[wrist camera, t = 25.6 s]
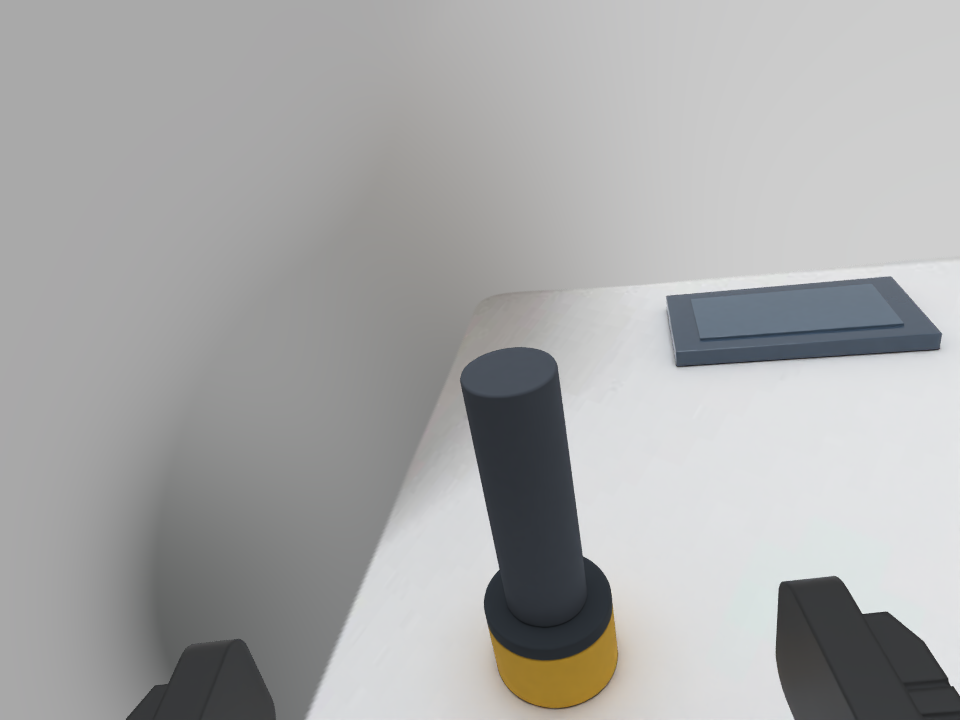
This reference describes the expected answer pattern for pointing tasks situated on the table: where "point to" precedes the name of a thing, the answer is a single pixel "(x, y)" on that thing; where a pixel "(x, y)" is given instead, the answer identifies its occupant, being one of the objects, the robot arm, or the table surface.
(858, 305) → the plate
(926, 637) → the table surface
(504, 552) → the sponge wand
